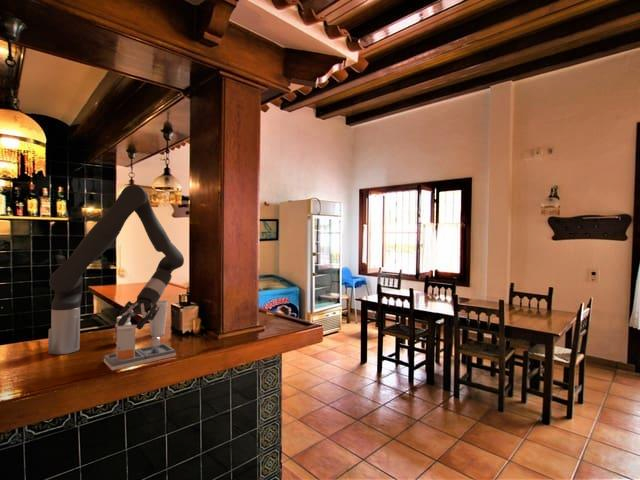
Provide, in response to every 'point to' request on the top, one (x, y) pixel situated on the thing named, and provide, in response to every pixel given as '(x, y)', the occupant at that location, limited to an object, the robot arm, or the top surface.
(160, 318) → the cup
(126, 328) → the skincare box
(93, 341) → the top surface
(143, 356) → the board
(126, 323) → the pill bottle
